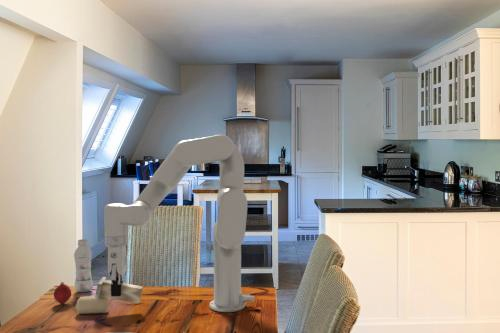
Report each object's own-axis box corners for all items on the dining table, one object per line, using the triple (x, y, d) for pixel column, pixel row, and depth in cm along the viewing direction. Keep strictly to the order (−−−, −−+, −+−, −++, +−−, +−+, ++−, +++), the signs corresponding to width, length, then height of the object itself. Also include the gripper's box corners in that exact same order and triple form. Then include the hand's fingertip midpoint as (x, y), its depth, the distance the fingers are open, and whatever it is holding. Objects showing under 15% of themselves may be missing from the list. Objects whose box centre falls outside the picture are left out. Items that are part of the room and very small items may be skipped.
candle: (104, 302, 160) (73, 303, 159) (106, 316, 162) (75, 317, 161) (107, 292, 165) (77, 293, 164) (108, 306, 167) (79, 307, 166)
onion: (74, 304, 172) (74, 281, 172) (58, 308, 168) (58, 285, 167) (66, 300, 176) (66, 278, 176) (51, 304, 172) (50, 282, 171)
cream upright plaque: (140, 298, 169) (143, 284, 168) (137, 306, 161) (141, 291, 160) (99, 290, 167) (102, 276, 167) (94, 298, 159) (97, 283, 159)
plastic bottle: (89, 294, 183) (89, 241, 182) (71, 294, 183) (71, 241, 182) (95, 289, 189) (94, 238, 188) (78, 289, 189) (77, 238, 188)
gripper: (123, 245, 155) (124, 301, 156) (131, 235, 171) (131, 286, 172) (99, 245, 154) (100, 302, 155) (109, 235, 170) (110, 287, 171)
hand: (117, 293), depth 164 cm, fingers closed on cream upright plaque, 3 cm apart
